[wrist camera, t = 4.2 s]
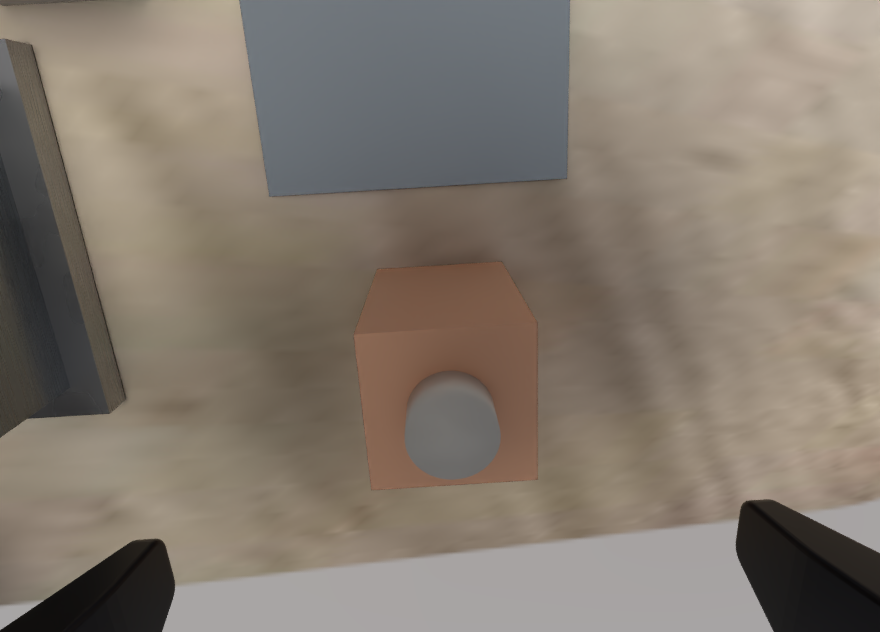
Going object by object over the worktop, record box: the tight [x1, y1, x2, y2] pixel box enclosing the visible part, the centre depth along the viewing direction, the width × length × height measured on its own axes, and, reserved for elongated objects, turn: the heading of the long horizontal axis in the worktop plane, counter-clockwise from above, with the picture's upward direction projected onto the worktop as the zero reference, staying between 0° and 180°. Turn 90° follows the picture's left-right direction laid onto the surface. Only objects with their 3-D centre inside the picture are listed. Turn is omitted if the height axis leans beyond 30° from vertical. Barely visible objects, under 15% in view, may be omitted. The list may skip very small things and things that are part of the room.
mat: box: [239, 0, 570, 197], centre depth 15 cm, size 9×9×1 cm
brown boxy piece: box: [354, 262, 538, 490], centre depth 15 cm, size 4×4×7 cm
